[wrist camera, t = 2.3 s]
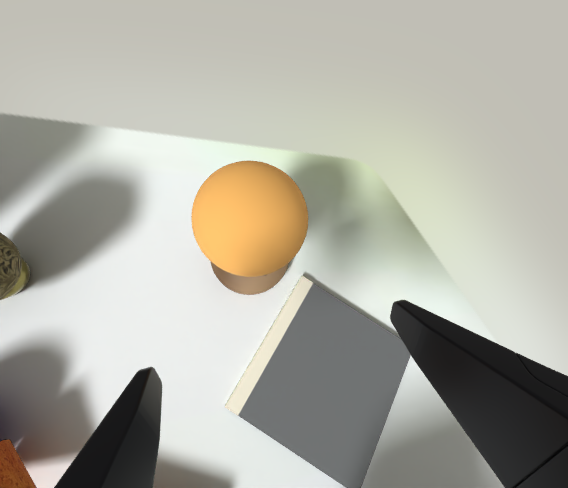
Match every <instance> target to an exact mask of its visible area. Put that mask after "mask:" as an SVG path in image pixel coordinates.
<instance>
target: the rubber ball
mask: <svg viewBox="0 0 568 488" xmlns="http://www.w3.org/2000/svg"><path fill="white" fill-rule="evenodd" d="M192 228H193V233H194V236H195V239H196V241H197V243H198V245H199V247H200V249H201V251H202V252H203V253H204V254H205V256H206V257H207V258H208V259H209V260H210V261H211V262H212V263H214V264H215V265H216V266H218V267H219V268H221V269H222V270H224V271H226V272H229V273H231V274H235V275H239V276H245V277H256V276H263V275H267V274H270V273H272V272H275V271H277V270H279V269H280V268H282V267H284V266H285V265H286V264H287V263H289V262H290V261H291V260H292V259H293V258H294V257H295V256H296V254H297V253H298V251H299V250H300V248H301V246H302V244H303V242H304V239H305V237H306V233H307V228H308V211H307V206H306V202H305V200H304V197H303V195H302V193H301V191H300V189H299V188H298V186H297V185H296V183H295V182H294V181H293V180H292V179H291V178H290V177H289V176H288V175H287V174H286V173H284V172H283V171H281V170H280V169H278V168H276V167H274V166H272V165H269V164H267V163H263V162H258V161H240V162H235V163H232V164H229V165H226V166H224V167H222V168H220V169H218V170H217V171H215V172H214V173H213V174H212V175H210V176H209V177H208V178H207V179H206V181H205V182H204V183H203V184H202V186H201V187H200V189H199V191H198V193H197V195H196V197H195V200H194V203H193V208H192Z"/></svg>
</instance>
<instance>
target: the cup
mask: <svg viewBox="0 0 568 488" xmlns="http://www.w3.org/2000/svg"><path fill="white" fill-rule="evenodd" d="M29 278H30V268H29V266H28V264H27V263H26V262H25V261H24V260H23V259H22V258H21V256H20V253H19V251H18V249H17V247H16V246H15V245H14V244H13V243H12V241H11V240H9V239H8V238H7V237H6V236H4V235H3V234H2V233H0V300H2V299H6V298H8V297H11V296H13V295H15V294H17V293H18V292H20V291H21V290H22V289H23V288H24V287H25V286H26V284H27V283H28V281H29Z"/></svg>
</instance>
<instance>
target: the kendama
mask: <svg viewBox="0 0 568 488" xmlns="http://www.w3.org/2000/svg"><path fill="white" fill-rule="evenodd" d="M0 488H36V486H35V484H34V482H33V480H32V479H31V477H30V475H29V473H28V471H27V470H26V468H25V466H24V464H23V462H22V461H21V459H20V457H19V455H18V453H17V452H16V450H15V448H14V446H13V444H12V443H11V441H10V439H9V440H2V441H0Z"/></svg>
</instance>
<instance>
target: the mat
mask: <svg viewBox="0 0 568 488" xmlns="http://www.w3.org/2000/svg"><path fill="white" fill-rule="evenodd" d="M410 355H411V354H410V353H409V351H408V349H407V348H406V346H405V344H404V343H403V341H402V339H400V338H399V337H397V336H395V335H394V334H392V333H391V332H389V331H388V330H386V329H384V328H383V327H381V326H380V325H378V324H377V323H375V322H374V321H372V320H370V319H369V318H367V317H366V316H364V315H363V314H361V313H359V312H358V311H356V310H355V309H353V308H352V307H350V306H348V305H347V304H345V303H344V302H342V301H341V300H339V299H338V298H336V297H334V296H333V295H331V294H330V293H328V292H327V291H325V290H323V289H322V288H320V287H319V286H317V285H316V284H314V283H313V282H311V281H310V280H308V279H307V278H305V277H304V276H301V278H300V279H299V281H298V283H297V284H296V286H295V288H294V289H293V291H292V293H291V294H290V296H289V298H288V300H287V301H286V303H285V305H284V306H283V308H282V310H281V311H280V313H279V315H278V317H277V318H276V320H275V322H274V323H273V325H272V327H271V328H270V330H269V332H268V333H267V335H266V337H265V339H264V340H263V342H262V344H261V345H260V347H259V349H258V350H257V352H256V354H255V355H254V357H253V359H252V361H251V362H250V364H249V366H248V367H247V369H246V371H245V372H244V374H243V376H242V377H241V379H240V381H239V383H238V384H237V386H236V388H235V389H234V391H233V393H232V394H231V396H230V398H229V400H228V401H227V403H226V405H225V408H227V409H228V410H230V411H231V412H233V413H234V414H236V415H237V416H240V417H241V418H243V419H244V420H246V421H247V422H249V423H250V424H252V425H253V426H255V427H256V428H258V429H259V430H261V431H262V432H264V433H265V434H267V435H268V436H270V437H271V438H273V439H274V440H276V441H277V442H279V443H280V444H282V445H283V446H285V447H286V448H288V449H289V450H291V451H292V452H294V453H295V454H297V455H298V456H300V457H301V458H303V459H304V460H306V461H307V462H309V463H310V464H312V465H313V466H315V467H316V468H318V469H319V470H321V471H322V472H324V473H325V474H327V475H328V476H330V477H331V478H333V479H334V480H336V481H337V482H339V483H340V484H342V485H343V486H345V487H346V488H361V486H362V483H363V481H364V478H365V475H366V473H367V470H368V467H369V465H370V462H371V459H372V457H373V454H374V451H375V449H376V446H377V443H378V441H379V438H380V435H381V433H382V430H383V427H384V425H385V422H386V419H387V417H388V414H389V411H390V409H391V406H392V403H393V401H394V398H395V395H396V393H397V390H398V387H399V385H400V382H401V379H402V377H403V374H404V371H405V369H406V366H407V363H408V361H409V358H410Z"/></svg>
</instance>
